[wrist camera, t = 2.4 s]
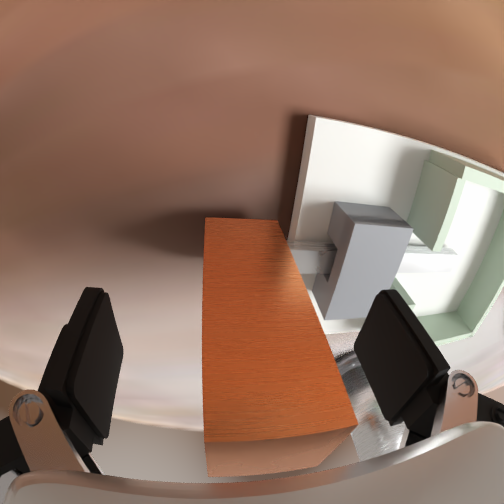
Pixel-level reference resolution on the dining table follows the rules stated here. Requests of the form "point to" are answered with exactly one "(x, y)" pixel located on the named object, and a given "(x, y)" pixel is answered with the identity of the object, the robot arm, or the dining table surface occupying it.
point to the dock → (389, 184)
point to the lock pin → (273, 349)
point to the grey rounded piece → (367, 413)
